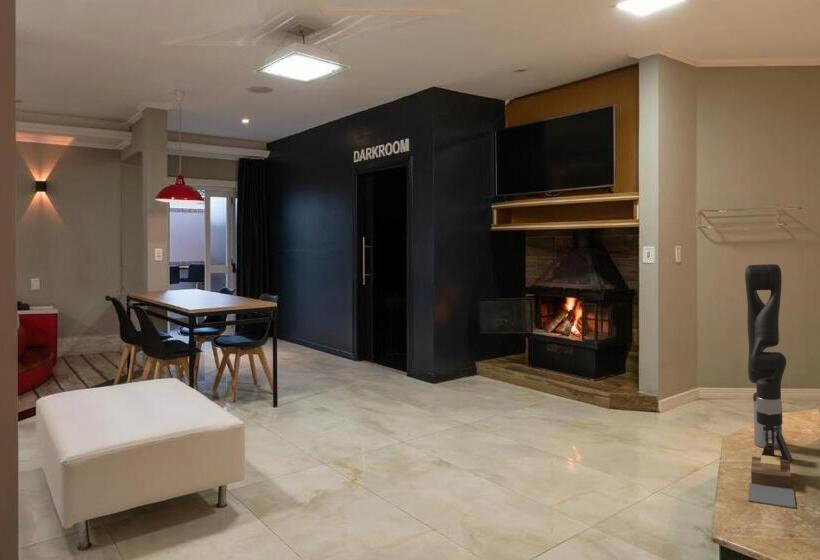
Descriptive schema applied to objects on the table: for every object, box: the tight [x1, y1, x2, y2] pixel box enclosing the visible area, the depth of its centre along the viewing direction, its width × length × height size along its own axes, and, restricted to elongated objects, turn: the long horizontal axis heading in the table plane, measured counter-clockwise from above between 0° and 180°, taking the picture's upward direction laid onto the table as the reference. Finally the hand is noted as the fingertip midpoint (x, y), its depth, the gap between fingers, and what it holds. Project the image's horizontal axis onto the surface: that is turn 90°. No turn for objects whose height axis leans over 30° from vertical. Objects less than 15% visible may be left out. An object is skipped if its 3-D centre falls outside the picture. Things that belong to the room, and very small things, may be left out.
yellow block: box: [760, 454, 781, 471], centre depth 195 cm, size 8×6×2 cm
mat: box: [748, 482, 797, 509], centre depth 181 cm, size 15×12×1 cm
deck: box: [750, 456, 793, 489], centre depth 195 cm, size 16×11×4 cm
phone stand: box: [760, 426, 793, 462], centre depth 212 cm, size 9×6×12 cm, turn 49°
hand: (770, 458), depth 200 cm, fingers closed
